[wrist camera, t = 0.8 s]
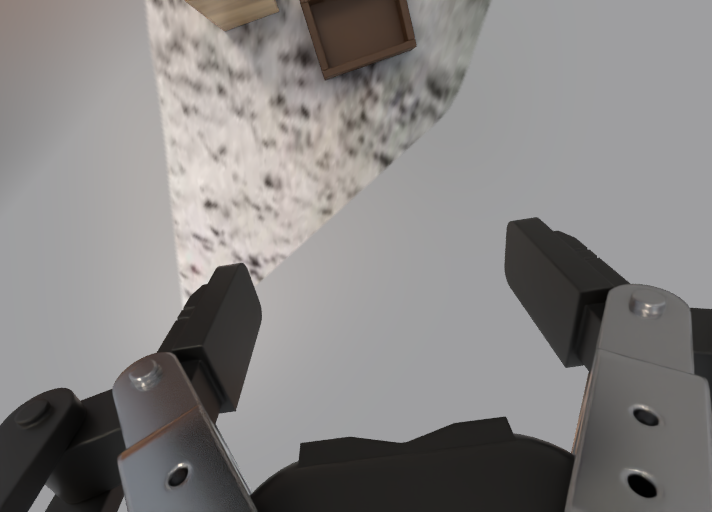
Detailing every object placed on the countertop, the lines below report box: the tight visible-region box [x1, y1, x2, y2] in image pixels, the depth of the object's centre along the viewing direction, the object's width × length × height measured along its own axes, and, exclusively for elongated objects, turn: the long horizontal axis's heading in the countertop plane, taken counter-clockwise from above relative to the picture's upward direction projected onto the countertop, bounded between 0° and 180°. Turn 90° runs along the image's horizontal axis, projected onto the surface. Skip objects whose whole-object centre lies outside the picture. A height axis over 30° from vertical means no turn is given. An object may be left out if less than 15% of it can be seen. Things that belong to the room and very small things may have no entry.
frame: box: [300, 0, 416, 80], centre depth 31 cm, size 6×8×2 cm
